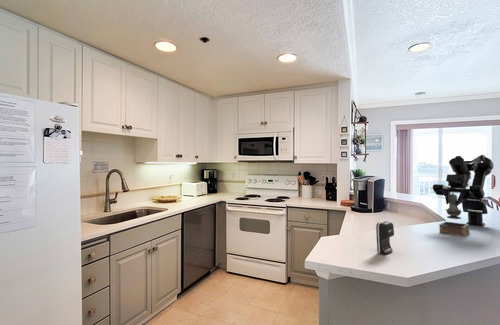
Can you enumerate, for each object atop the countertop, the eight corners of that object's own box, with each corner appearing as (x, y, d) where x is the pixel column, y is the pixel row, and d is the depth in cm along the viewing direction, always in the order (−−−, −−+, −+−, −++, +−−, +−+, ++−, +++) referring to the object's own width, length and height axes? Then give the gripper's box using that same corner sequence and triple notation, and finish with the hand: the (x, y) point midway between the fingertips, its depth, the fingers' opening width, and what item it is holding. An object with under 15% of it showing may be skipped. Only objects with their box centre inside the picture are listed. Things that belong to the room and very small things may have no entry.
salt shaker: (465, 219, 112) (464, 192, 112) (452, 219, 112) (451, 193, 112) (455, 216, 118) (453, 191, 118) (442, 216, 118) (441, 192, 118)
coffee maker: (387, 256, 87) (386, 224, 88) (376, 253, 90) (375, 222, 91) (396, 251, 91) (394, 221, 92) (385, 249, 95) (384, 219, 95)
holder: (445, 229, 121) (445, 221, 121) (469, 232, 114) (468, 224, 114) (439, 232, 116) (439, 224, 116) (464, 236, 108) (464, 227, 108)
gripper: (433, 168, 126) (423, 191, 120) (480, 168, 109) (471, 194, 104) (441, 182, 129) (431, 205, 124) (488, 184, 113) (480, 211, 107)
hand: (451, 204), depth 114 cm, fingers closed on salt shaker, 4 cm apart
